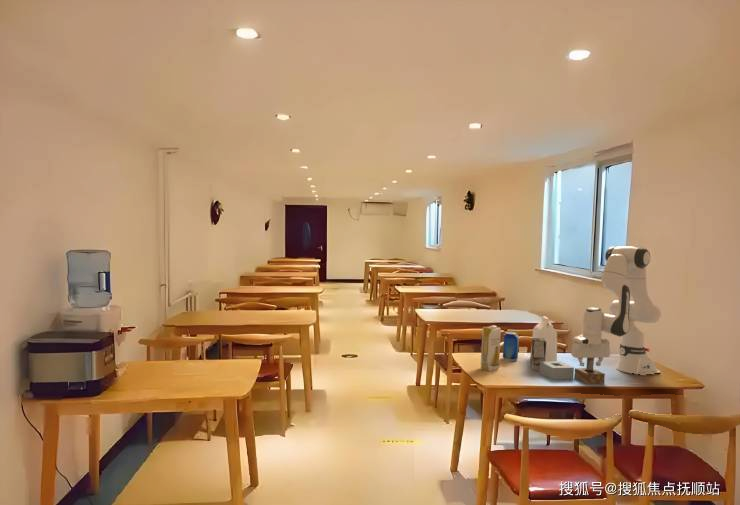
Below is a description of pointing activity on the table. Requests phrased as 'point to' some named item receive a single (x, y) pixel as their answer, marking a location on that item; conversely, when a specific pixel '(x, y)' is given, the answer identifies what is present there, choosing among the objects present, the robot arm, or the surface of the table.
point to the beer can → (510, 346)
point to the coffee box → (537, 352)
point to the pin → (590, 364)
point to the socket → (556, 370)
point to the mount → (589, 376)
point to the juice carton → (490, 348)
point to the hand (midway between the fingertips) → (589, 365)
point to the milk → (547, 338)
